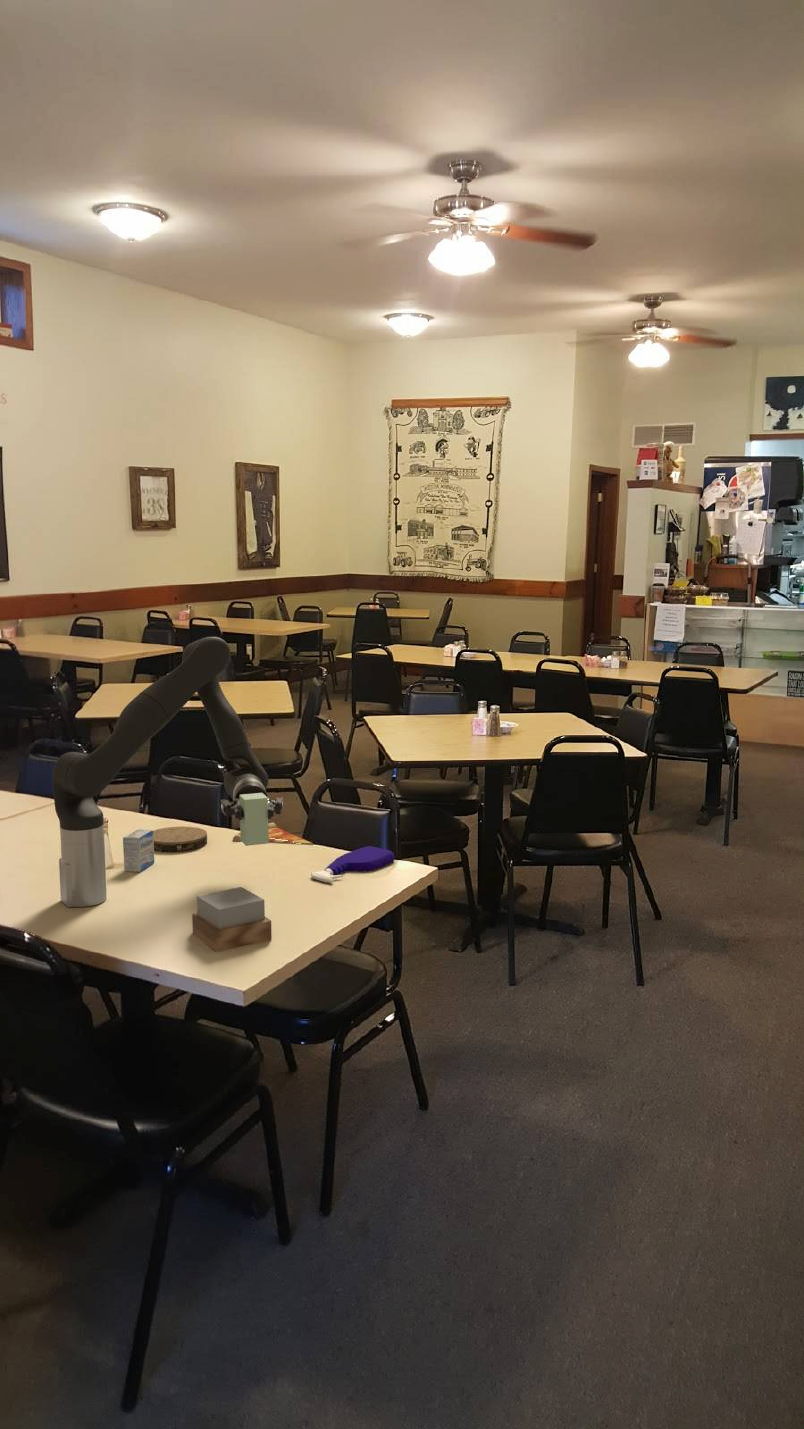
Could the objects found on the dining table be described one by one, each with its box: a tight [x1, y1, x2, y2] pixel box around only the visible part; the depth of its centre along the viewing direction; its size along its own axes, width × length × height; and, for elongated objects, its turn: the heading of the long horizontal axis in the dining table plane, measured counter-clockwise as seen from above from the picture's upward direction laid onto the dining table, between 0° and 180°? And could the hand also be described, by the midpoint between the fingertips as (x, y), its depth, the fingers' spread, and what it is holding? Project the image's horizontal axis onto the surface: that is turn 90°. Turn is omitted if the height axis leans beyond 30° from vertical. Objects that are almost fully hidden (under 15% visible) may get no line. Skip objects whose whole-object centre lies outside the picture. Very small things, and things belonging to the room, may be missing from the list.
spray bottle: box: [310, 845, 396, 884], centre depth 248 cm, size 3×11×24 cm
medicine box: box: [122, 828, 155, 873], centre depth 248 cm, size 8×4×9 cm, turn 168°
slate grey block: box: [196, 886, 266, 929], centre depth 203 cm, size 10×10×4 cm
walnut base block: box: [191, 912, 273, 953], centre depth 204 cm, size 12×12×4 cm
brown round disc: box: [153, 826, 208, 854], centre depth 269 cm, size 16×16×3 cm
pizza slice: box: [232, 822, 314, 846], centre depth 274 cm, size 16×22×2 cm
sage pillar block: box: [239, 793, 269, 847], centre depth 216 cm, size 5×5×10 cm
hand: (255, 814), depth 213 cm, fingers closed on sage pillar block, 5 cm apart
